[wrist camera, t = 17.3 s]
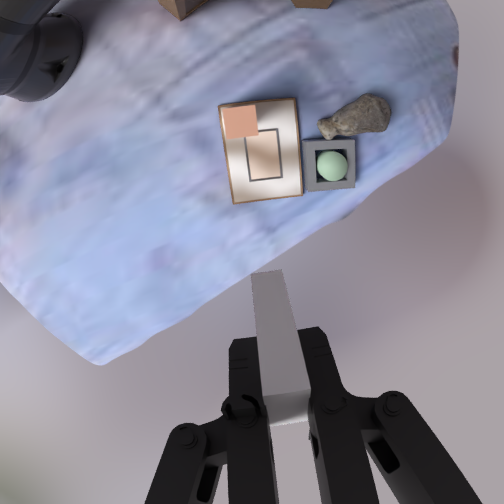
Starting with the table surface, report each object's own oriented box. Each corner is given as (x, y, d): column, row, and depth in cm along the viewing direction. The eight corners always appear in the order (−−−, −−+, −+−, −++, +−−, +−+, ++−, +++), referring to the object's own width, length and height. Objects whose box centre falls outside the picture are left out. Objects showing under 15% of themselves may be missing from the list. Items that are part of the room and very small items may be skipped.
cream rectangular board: (218, 105, 31) (217, 105, 31) (294, 97, 31) (295, 97, 31) (232, 203, 39) (232, 204, 38) (302, 194, 38) (303, 196, 38)
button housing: (301, 139, 34) (305, 141, 33) (349, 137, 34) (354, 139, 33) (305, 187, 38) (308, 192, 36) (349, 183, 38) (355, 187, 36)
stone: (314, 139, 35) (363, 168, 32) (308, 118, 30) (363, 149, 27) (350, 96, 34) (396, 120, 31) (347, 72, 29) (399, 97, 26)
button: (313, 149, 35) (318, 153, 33) (340, 148, 35) (347, 151, 33) (315, 177, 37) (320, 182, 35) (341, 175, 37) (347, 180, 35)
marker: (226, 108, 31) (222, 109, 21) (248, 105, 31) (254, 104, 21) (229, 128, 33) (226, 139, 22) (251, 125, 32) (258, 135, 22)
